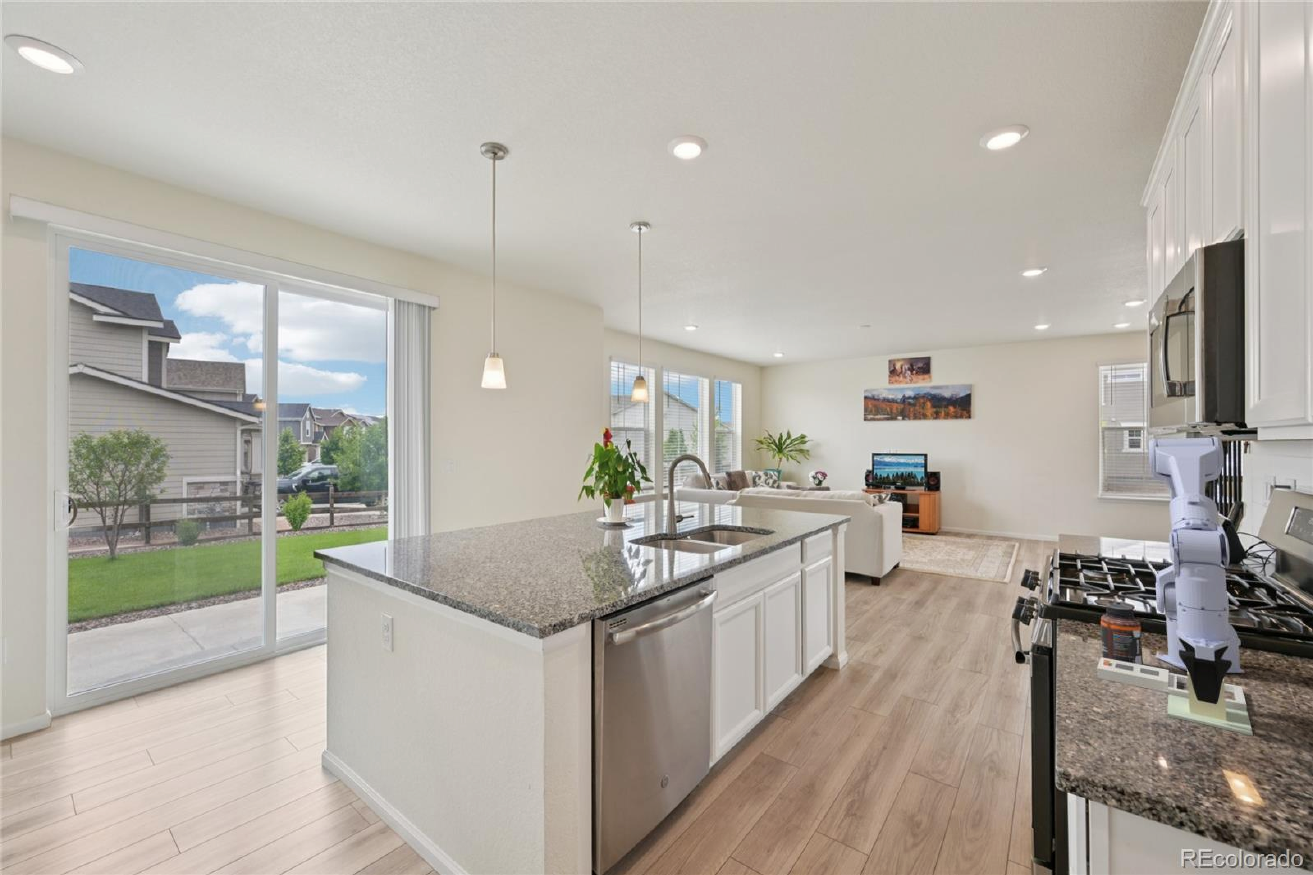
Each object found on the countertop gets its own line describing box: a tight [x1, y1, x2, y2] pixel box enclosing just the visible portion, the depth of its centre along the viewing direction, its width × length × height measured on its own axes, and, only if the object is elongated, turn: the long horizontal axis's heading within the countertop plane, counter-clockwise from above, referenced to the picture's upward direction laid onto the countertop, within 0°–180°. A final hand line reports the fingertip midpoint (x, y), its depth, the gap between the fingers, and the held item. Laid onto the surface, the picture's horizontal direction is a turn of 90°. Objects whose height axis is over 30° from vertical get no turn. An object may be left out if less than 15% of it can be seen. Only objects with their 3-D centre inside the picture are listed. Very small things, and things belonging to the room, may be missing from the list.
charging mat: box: [1166, 694, 1253, 737], centre depth 85 cm, size 9×9×1 cm
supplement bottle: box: [1100, 603, 1144, 665], centre depth 105 cm, size 6×6×11 cm
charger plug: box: [1186, 670, 1226, 721], centre depth 85 cm, size 4×4×6 cm
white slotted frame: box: [1096, 656, 1248, 712], centre depth 96 cm, size 18×9×2 cm, turn 46°
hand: (1206, 693), depth 85 cm, fingers open, 7 cm apart
